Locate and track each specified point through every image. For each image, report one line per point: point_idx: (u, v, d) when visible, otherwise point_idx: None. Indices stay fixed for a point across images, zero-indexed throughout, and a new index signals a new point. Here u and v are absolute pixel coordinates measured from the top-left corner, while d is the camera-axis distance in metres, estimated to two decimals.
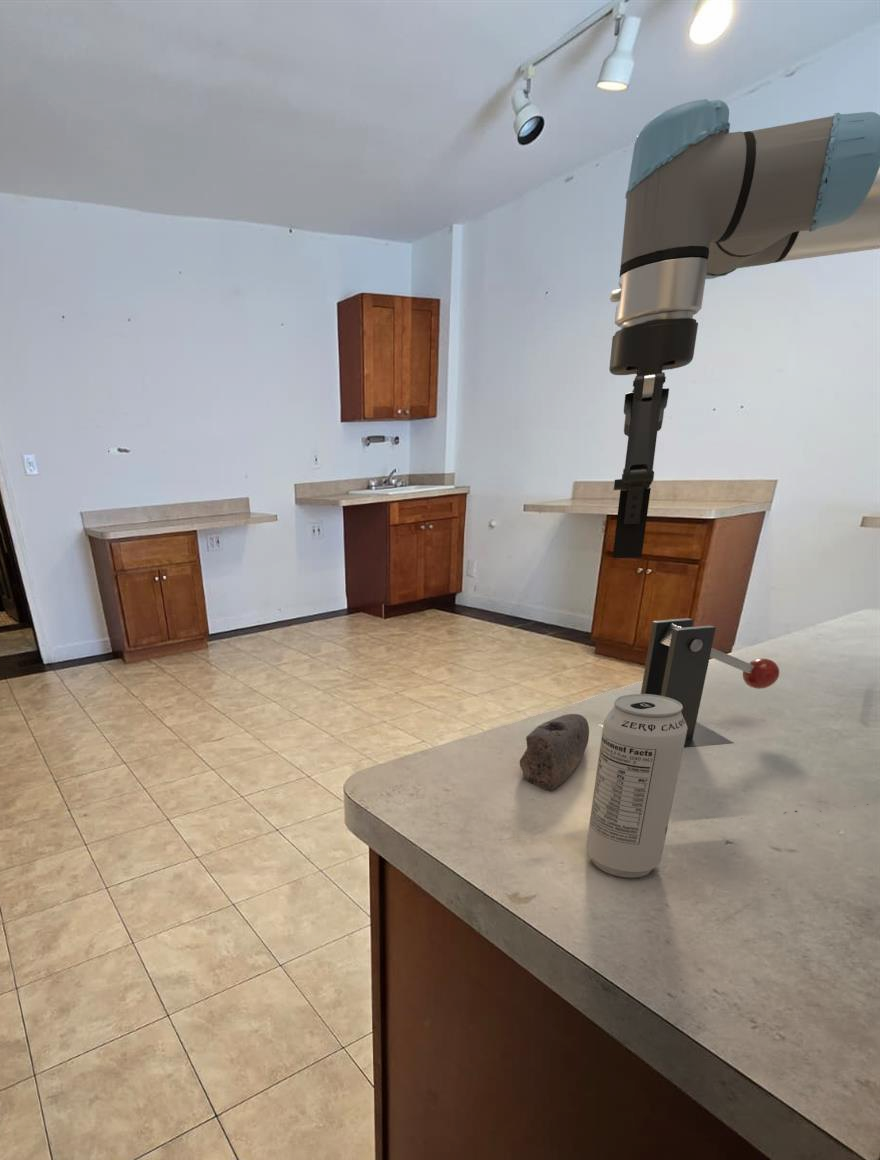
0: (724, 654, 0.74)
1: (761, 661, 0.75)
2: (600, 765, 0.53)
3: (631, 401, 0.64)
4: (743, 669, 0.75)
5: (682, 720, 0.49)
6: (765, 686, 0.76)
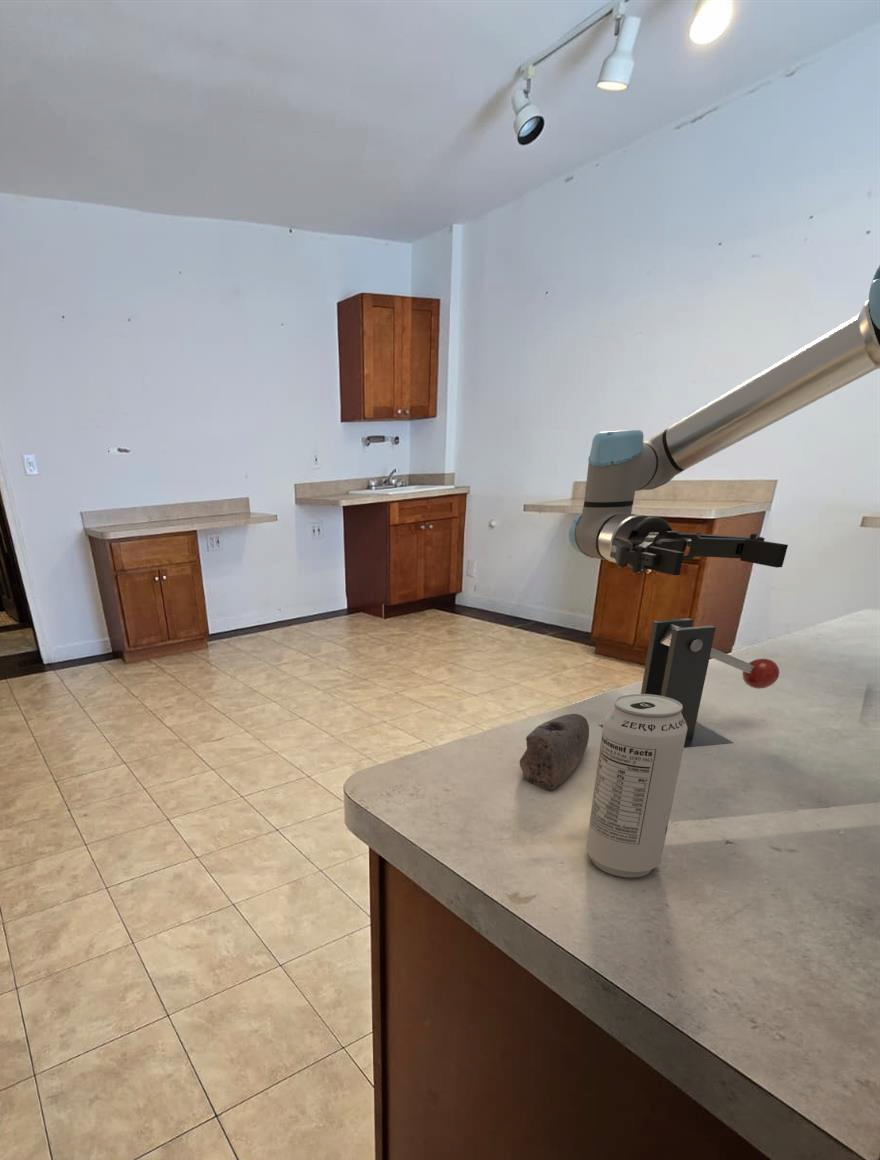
0: (724, 654, 0.74)
1: (761, 661, 0.75)
2: (600, 765, 0.53)
3: None
4: (743, 669, 0.75)
5: (682, 720, 0.49)
6: (765, 686, 0.76)
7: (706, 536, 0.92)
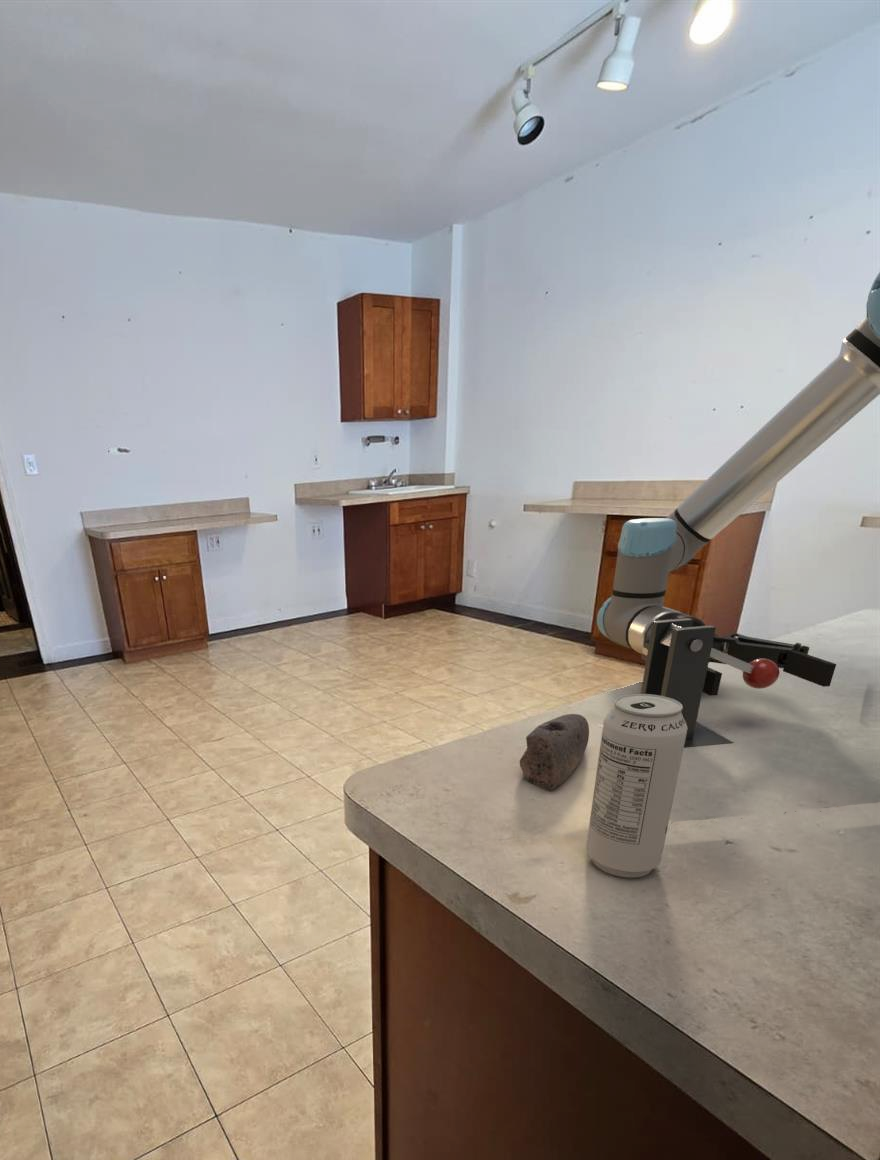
0: (724, 654, 0.74)
1: (761, 661, 0.75)
2: (600, 765, 0.53)
3: None
4: (743, 669, 0.75)
5: (682, 720, 0.49)
6: (765, 686, 0.76)
7: (745, 639, 0.87)
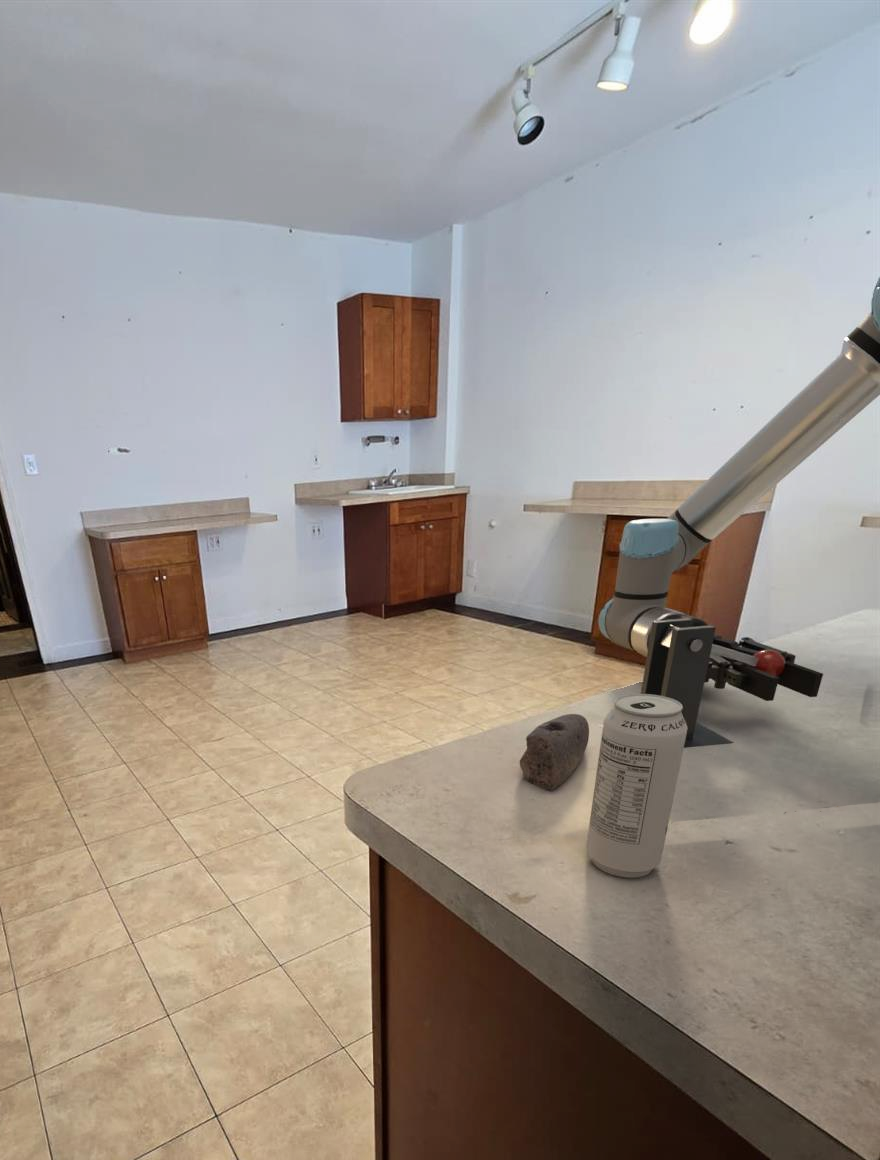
0: (726, 650, 0.74)
1: (765, 653, 0.75)
2: (600, 765, 0.53)
3: None
4: (747, 662, 0.75)
5: (682, 720, 0.49)
6: None
7: (747, 643, 0.85)
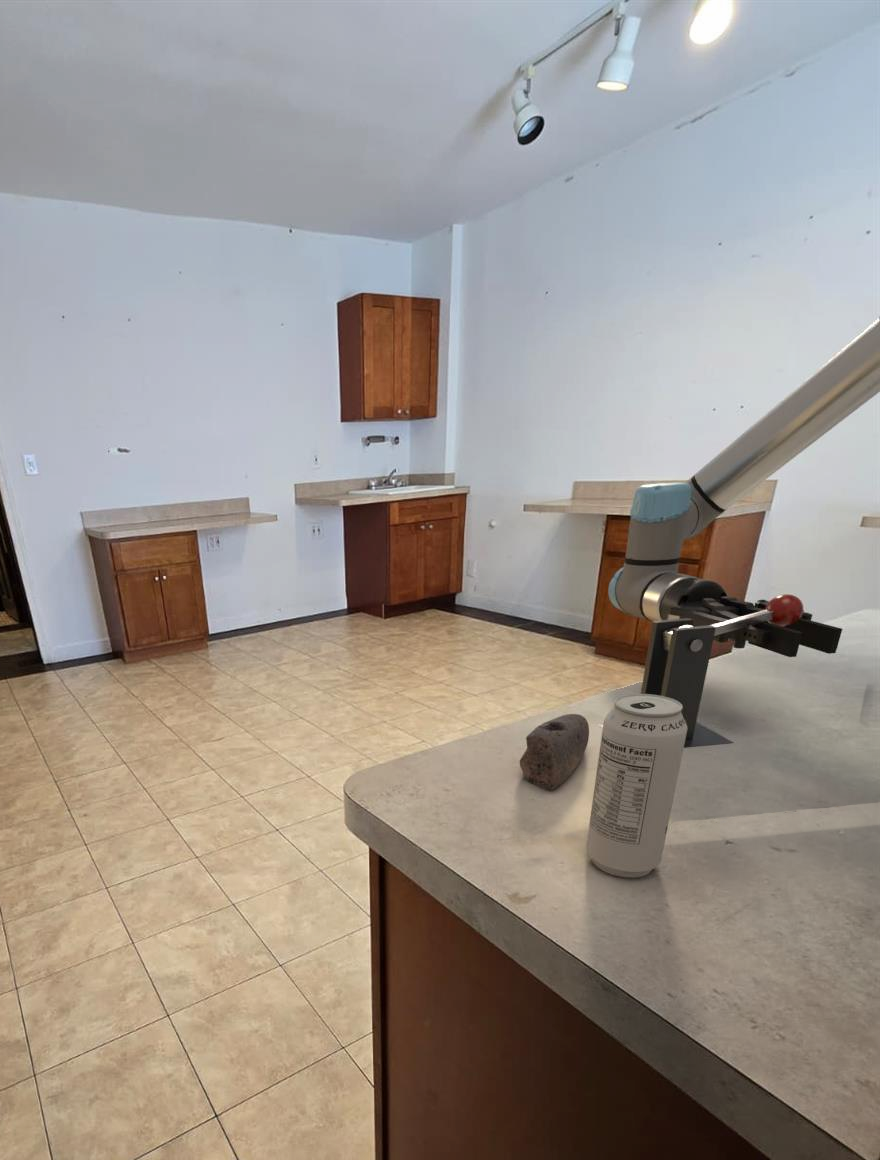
0: (732, 623, 0.73)
1: (775, 604, 0.72)
2: (600, 765, 0.53)
3: None
4: (762, 621, 0.73)
5: (682, 720, 0.49)
6: (795, 621, 0.73)
7: (763, 605, 0.82)
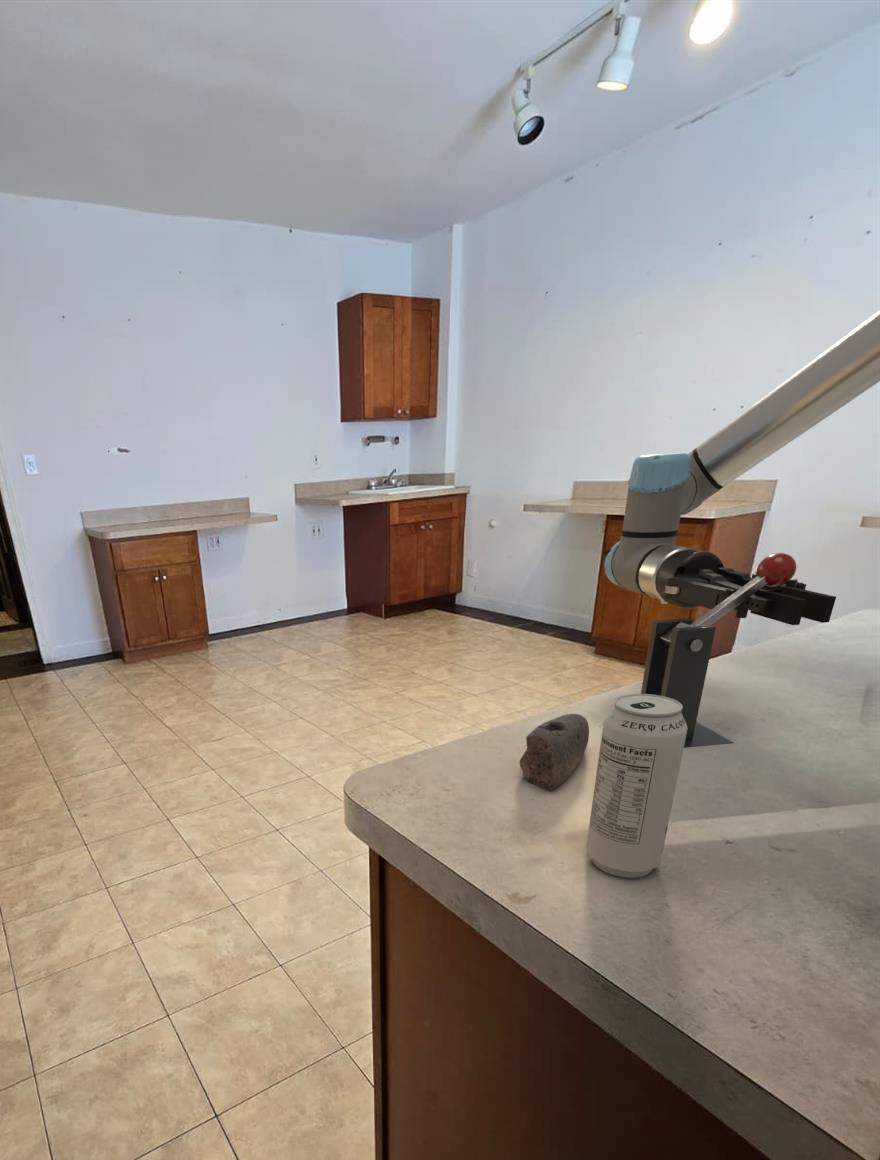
0: (727, 605, 0.72)
1: (764, 569, 0.71)
2: (600, 765, 0.53)
3: None
4: (757, 590, 0.71)
5: (682, 720, 0.49)
6: (792, 576, 0.70)
7: None
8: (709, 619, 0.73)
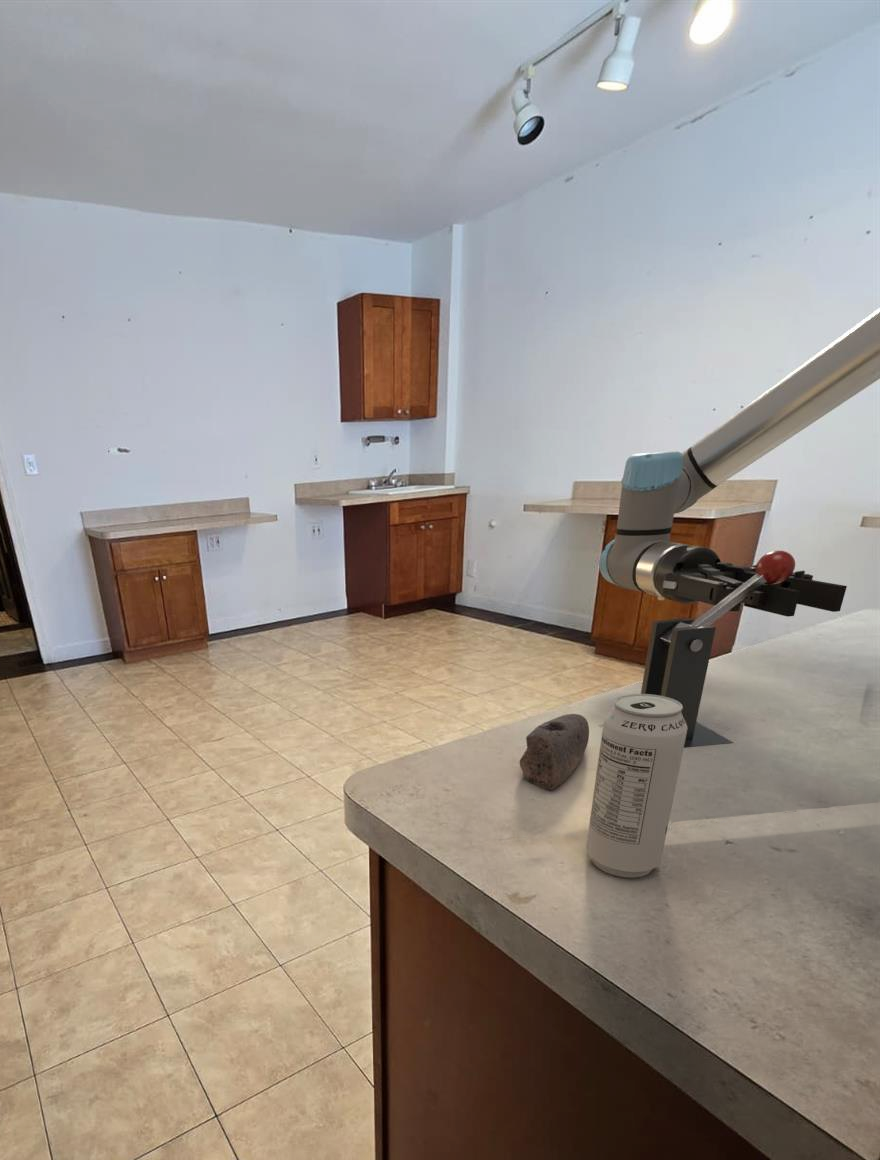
0: (726, 604, 0.72)
1: (763, 567, 0.71)
2: (600, 765, 0.53)
3: None
4: (756, 588, 0.71)
5: (682, 720, 0.49)
6: (791, 573, 0.70)
7: None
8: (709, 618, 0.72)
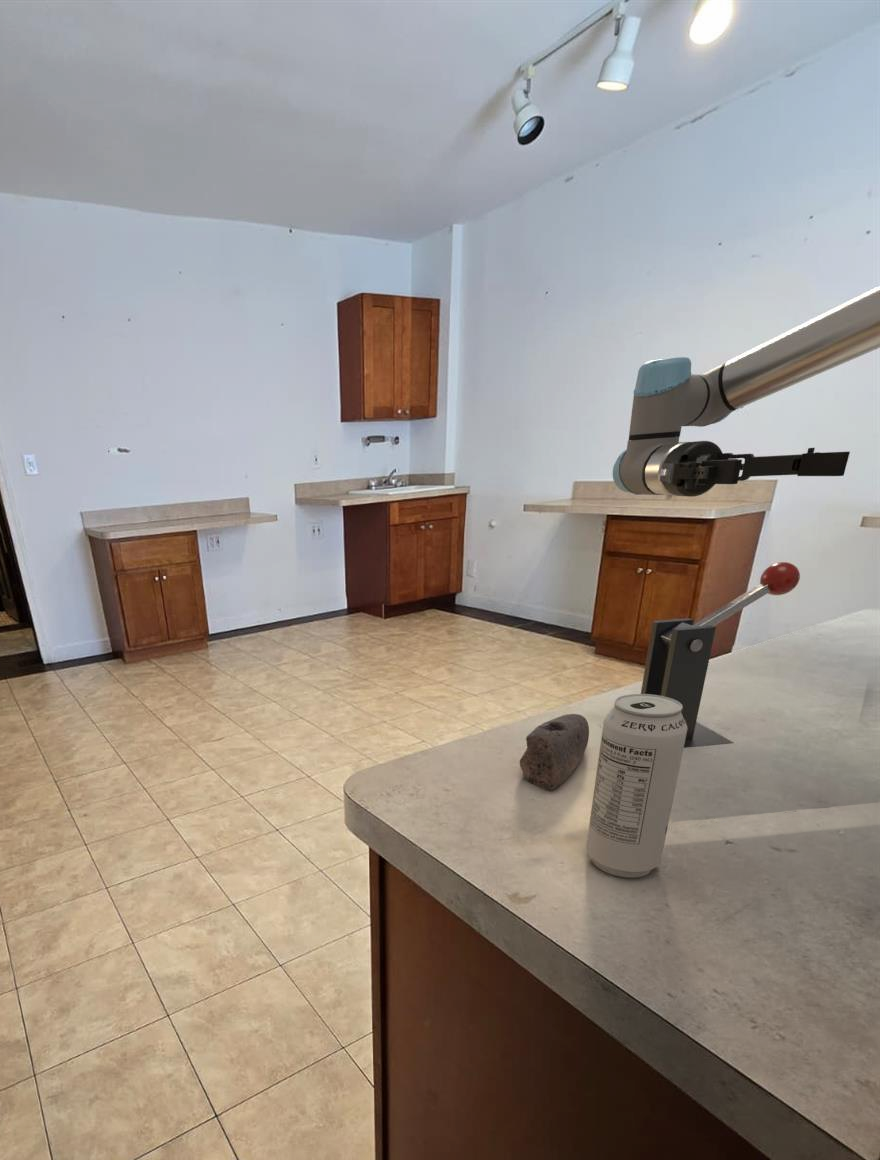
0: (729, 609, 0.72)
1: (768, 577, 0.71)
2: (600, 765, 0.53)
3: None
4: (759, 597, 0.72)
5: (682, 720, 0.49)
6: (794, 586, 0.71)
7: None
8: (710, 621, 0.73)
